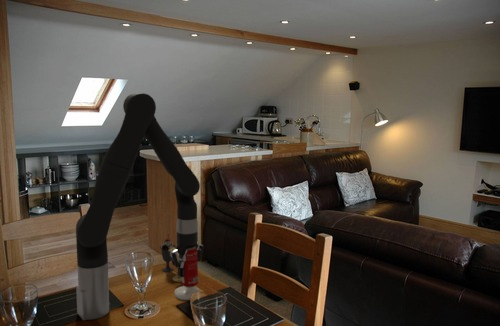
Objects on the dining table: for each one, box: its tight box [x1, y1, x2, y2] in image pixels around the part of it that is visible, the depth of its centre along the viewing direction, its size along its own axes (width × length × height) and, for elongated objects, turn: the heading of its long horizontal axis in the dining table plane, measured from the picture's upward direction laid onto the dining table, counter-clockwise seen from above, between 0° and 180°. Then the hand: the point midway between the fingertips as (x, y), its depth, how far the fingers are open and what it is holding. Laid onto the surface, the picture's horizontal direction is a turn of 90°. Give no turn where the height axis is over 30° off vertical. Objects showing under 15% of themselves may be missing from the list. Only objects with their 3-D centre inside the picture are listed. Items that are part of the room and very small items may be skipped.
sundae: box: [159, 233, 177, 273], centre depth 165 cm, size 7×7×15 cm
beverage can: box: [181, 246, 199, 288], centre depth 144 cm, size 6×6×15 cm
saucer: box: [174, 285, 200, 301], centre depth 145 cm, size 9×9×1 cm
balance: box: [169, 247, 182, 283], centre depth 156 cm, size 5×13×12 cm, turn 41°
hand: (187, 274), depth 144 cm, fingers closed on beverage can, 4 cm apart
